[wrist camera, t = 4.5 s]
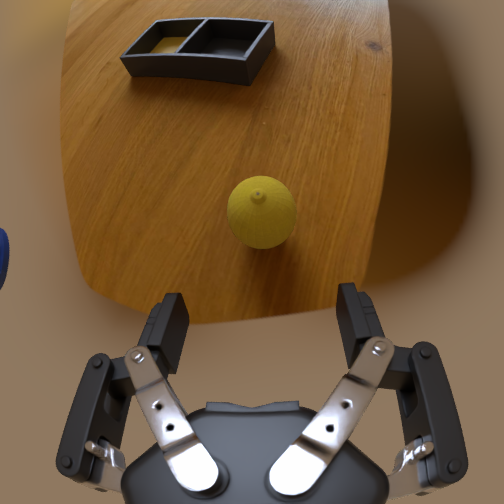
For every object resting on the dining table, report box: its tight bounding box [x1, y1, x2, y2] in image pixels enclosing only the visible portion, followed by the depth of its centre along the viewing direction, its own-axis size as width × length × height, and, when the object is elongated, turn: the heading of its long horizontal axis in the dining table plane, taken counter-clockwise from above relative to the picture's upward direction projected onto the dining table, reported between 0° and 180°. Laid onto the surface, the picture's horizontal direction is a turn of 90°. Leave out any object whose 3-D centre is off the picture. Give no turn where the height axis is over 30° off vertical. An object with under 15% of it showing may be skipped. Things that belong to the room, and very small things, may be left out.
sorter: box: [120, 17, 275, 86], centre depth 31 cm, size 10×20×4 cm, turn 69°
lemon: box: [227, 176, 297, 249], centre depth 22 cm, size 6×6×8 cm
